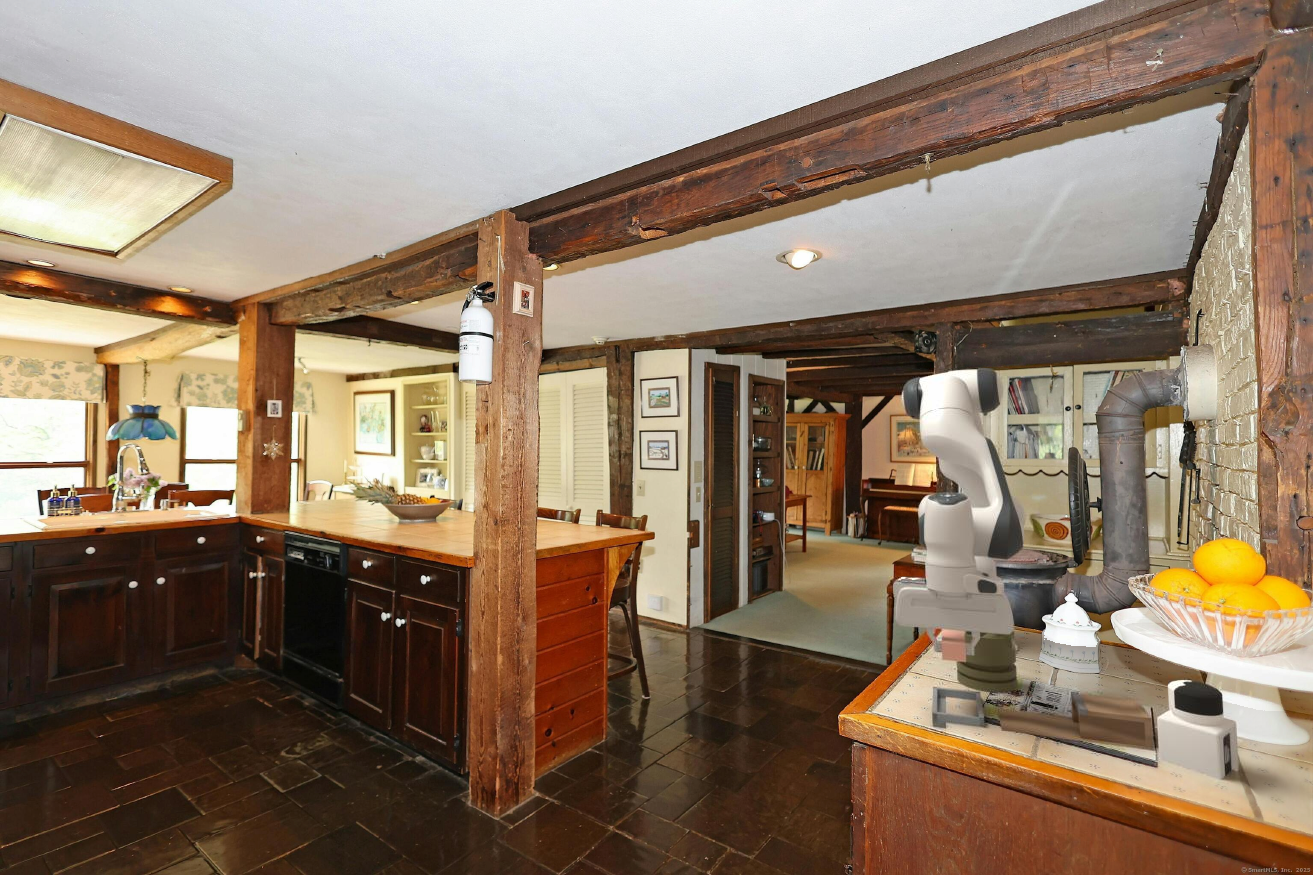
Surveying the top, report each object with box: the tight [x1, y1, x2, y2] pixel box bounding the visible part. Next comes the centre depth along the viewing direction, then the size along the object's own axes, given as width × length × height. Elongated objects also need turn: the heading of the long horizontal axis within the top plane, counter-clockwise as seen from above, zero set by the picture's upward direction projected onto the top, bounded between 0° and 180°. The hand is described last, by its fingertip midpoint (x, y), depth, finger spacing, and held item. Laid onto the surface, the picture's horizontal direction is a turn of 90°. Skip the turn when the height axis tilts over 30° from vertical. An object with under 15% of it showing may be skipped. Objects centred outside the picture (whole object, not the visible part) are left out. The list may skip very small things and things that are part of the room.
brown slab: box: [996, 691, 1156, 751], centre depth 112 cm, size 10×22×6 cm, turn 66°
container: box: [1156, 679, 1240, 780], centre depth 99 cm, size 8×8×13 cm
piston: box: [956, 631, 1018, 694], centre depth 134 cm, size 11×12×11 cm
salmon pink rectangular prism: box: [941, 629, 966, 662], centre depth 121 cm, size 4×10×3 cm, turn 155°
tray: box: [931, 686, 986, 729], centre depth 121 cm, size 14×9×2 cm, turn 156°
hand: (953, 652), depth 119 cm, fingers closed on salmon pink rectangular prism, 4 cm apart
